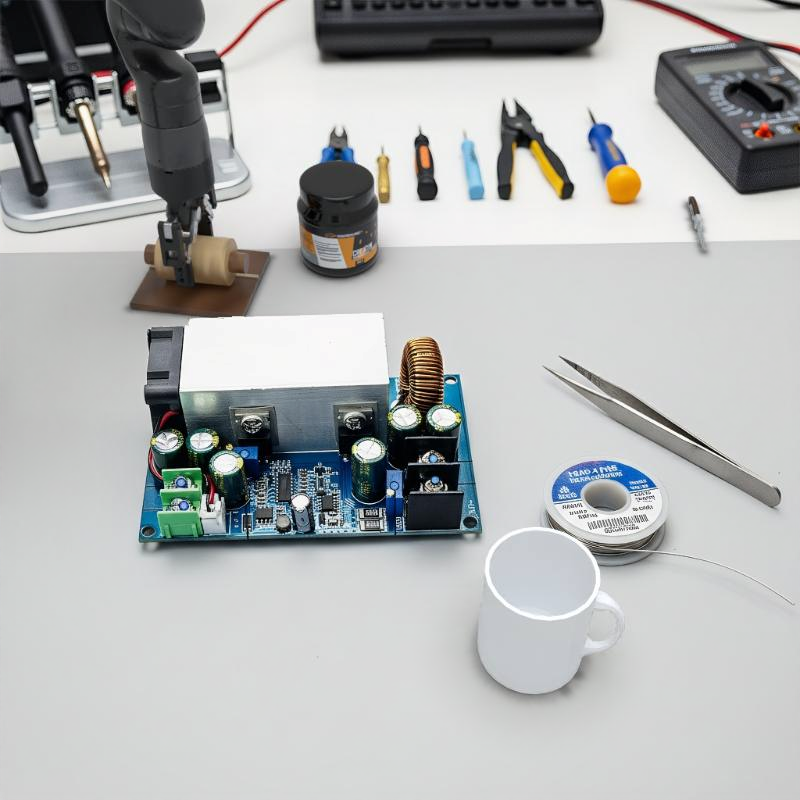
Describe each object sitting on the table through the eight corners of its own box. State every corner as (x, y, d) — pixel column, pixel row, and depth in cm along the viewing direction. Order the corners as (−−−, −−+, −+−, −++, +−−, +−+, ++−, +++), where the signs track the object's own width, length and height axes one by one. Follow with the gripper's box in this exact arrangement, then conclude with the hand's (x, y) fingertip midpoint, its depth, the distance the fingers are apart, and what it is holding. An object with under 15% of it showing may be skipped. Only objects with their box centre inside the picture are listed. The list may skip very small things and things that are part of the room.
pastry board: (131, 309, 125) (129, 301, 124) (165, 248, 135) (164, 240, 134) (243, 320, 123) (242, 313, 123) (270, 258, 133) (269, 250, 132)
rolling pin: (143, 286, 126) (135, 247, 122) (159, 259, 131) (151, 221, 126) (242, 297, 125) (237, 257, 121) (254, 269, 129) (250, 230, 125)
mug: (472, 607, 93) (480, 527, 85) (600, 606, 93) (620, 526, 85) (480, 698, 86) (489, 620, 78) (618, 697, 86) (641, 619, 78)
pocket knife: (685, 202, 144) (688, 190, 143) (691, 202, 144) (694, 190, 143) (700, 256, 134) (703, 243, 133) (707, 256, 134) (710, 244, 133)
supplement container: (325, 289, 128) (320, 210, 120) (286, 250, 135) (280, 171, 126) (393, 264, 132) (394, 185, 124) (353, 227, 139) (351, 150, 131)
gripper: (166, 119, 120) (185, 231, 132) (125, 179, 110) (149, 296, 121) (226, 124, 120) (240, 237, 131) (190, 185, 109) (208, 302, 121)
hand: (196, 265), depth 126 cm, fingers open, 8 cm apart
